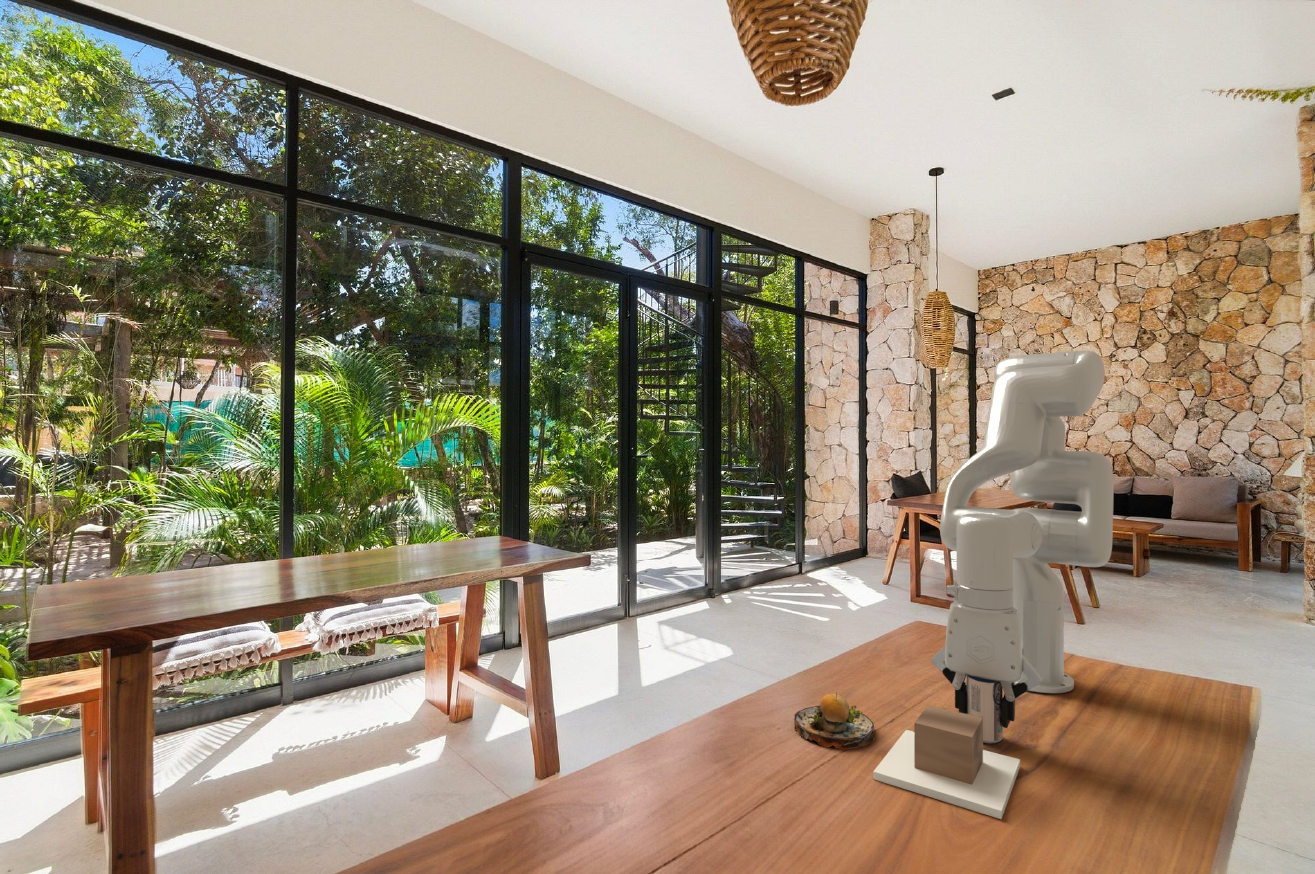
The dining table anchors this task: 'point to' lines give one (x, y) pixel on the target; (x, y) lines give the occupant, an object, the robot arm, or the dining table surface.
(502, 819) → the dining table surface
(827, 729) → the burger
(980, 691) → the beer can
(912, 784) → the stone tile
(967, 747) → the walnut block
